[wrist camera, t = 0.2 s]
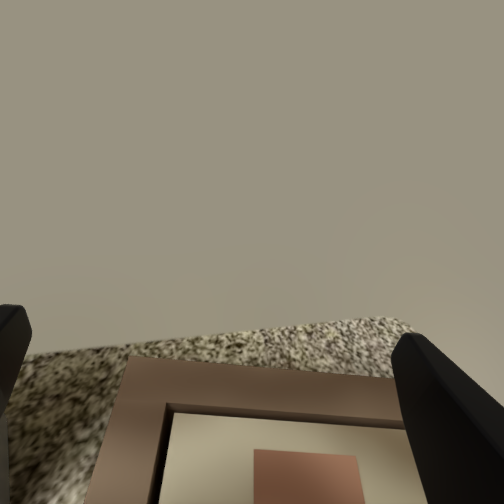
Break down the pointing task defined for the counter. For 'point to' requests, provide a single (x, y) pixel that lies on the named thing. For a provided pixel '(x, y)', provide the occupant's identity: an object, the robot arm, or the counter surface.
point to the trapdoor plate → (286, 463)
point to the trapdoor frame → (219, 413)
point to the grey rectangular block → (4, 462)
